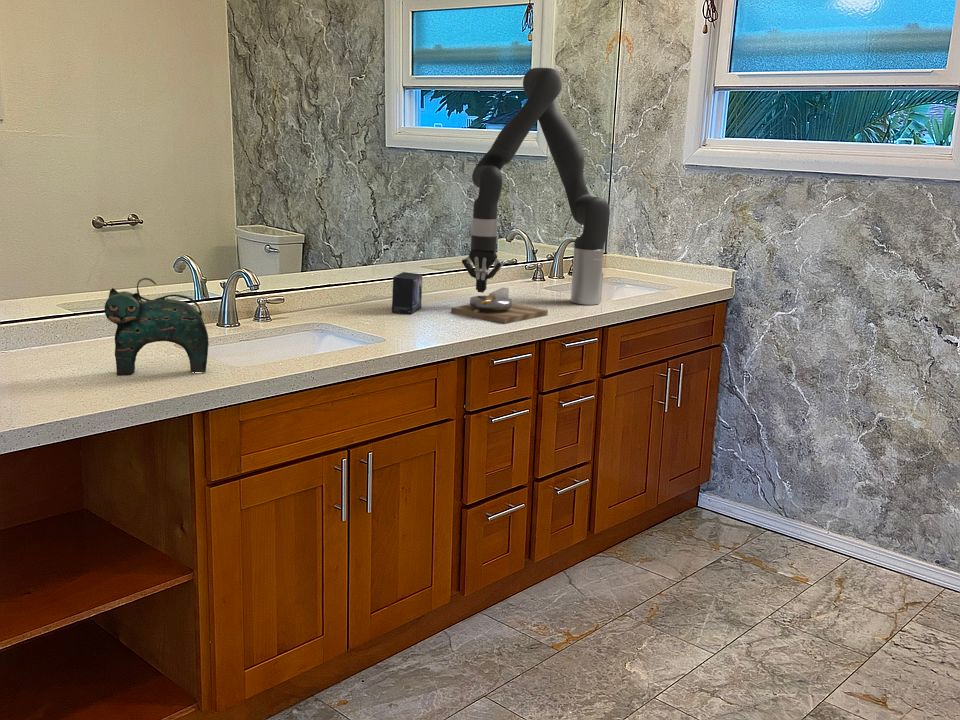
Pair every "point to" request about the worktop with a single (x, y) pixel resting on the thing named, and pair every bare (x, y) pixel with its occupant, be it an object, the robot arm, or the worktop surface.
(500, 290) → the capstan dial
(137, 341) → the ceramic cat
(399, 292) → the small box
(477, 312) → the stand
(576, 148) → the robot arm
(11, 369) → the worktop surface
